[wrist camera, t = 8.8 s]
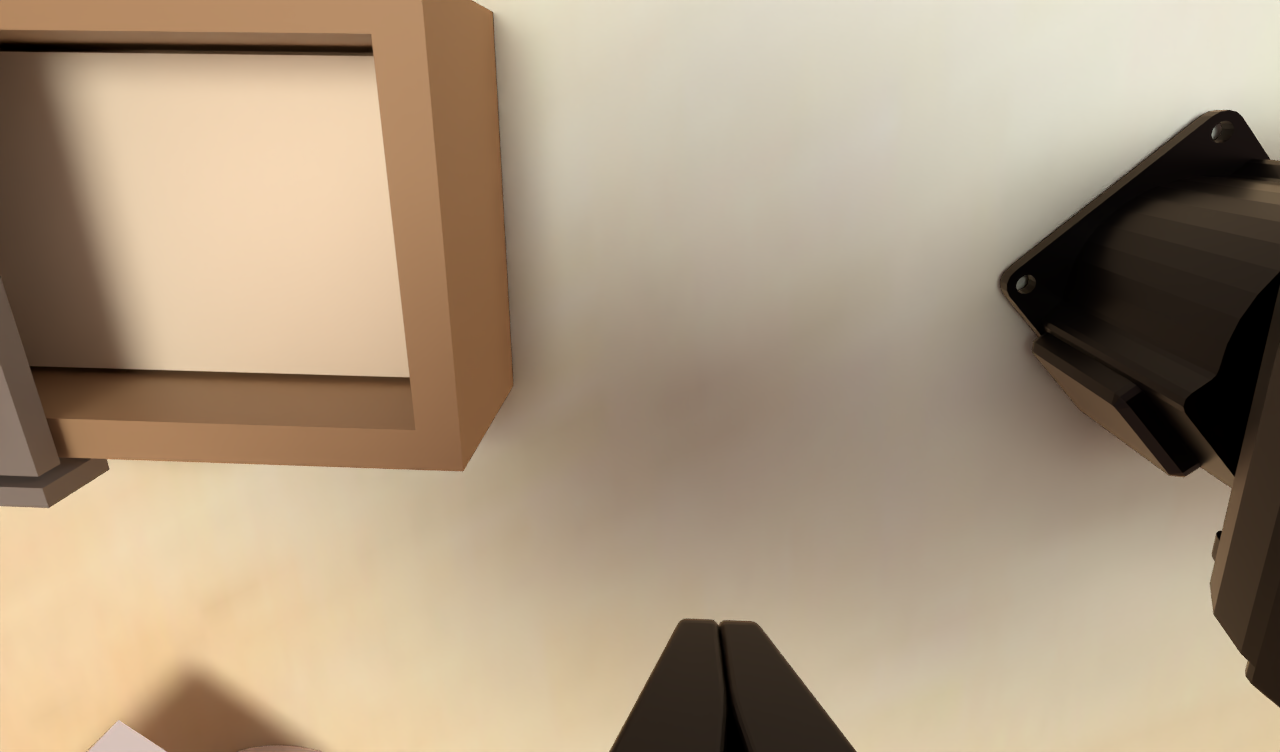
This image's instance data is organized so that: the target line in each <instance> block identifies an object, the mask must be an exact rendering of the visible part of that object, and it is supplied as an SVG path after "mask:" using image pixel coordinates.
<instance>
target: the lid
mask: <svg viewBox="0 0 1280 752" xmlns="http://www.w3.org/2000/svg"><path fill="white" fill-rule="evenodd" d="M108 470H109V466H108V463H107V459H96V458H67V457H58V454H57V451H56V448H55V445H54V441H53V438H52V435H51V432H50V429H49V426H48V423H47V420H46V417H45V413H44V410H43V407H42V404H41V401H40V398H39V395H38V392H37V389H36V385H35V382H34V379H33V376H32V373H31V370H30V367H29V364H28V360H27V357H26V354H25V351H24V348H23V345H22V342H21V339H20V336H19V332H18V329H17V326H16V323H15V320H14V317H13V314H12V311H11V308H10V304H9V301H8V298H7V295H6V292H5V289H4V286H3V283H2V280H1V276H0V506H12V507H39V508H49V507H51V506H53V505H54V504H56V503H57V502H59V501H60V500H62V499H64V498H65V497H67V496H68V495H70V494H71V493H73V492H75V491H76V490H78V489H79V488H81V487H83V486H84V485H86V484H87V483H89V482H90V481H92V480H94V479H95V478H97V477H98V476H100V475H101V474H103V473H105V472H106V471H108Z"/></svg>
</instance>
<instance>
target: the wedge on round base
mask: <svg viewBox="0 0 1280 752" xmlns="http://www.w3.org/2000/svg"><path fill="white" fill-rule="evenodd" d="M86 752H167V751H165V750H163V749H162V748H160V747H159V746H157V745H156V744H154V743H153V742H151V741H150V740H148V739H147V738H145V737H144V736H142V735H141V734H139V733H138V732H136V731H135V730H133V729H132V728H130V727H129V726H127V725H126V724H124V723H123V722H121V721H120V720H118V721H117V722H116V723H115V724H114V725H113V726H112V727H111V728H110V729H109V730H108V731H107V732H106V733H105V734H104V735H103V736H102V737H101V738H100V739H99V740H98V741H97V742H96V743H95V744H94V745H93V746H91V747H90V748H89V749H88V750H87V751H86ZM237 752H321V751H317V750H314V749H309V748H303V747H297V746H285V745H269V746H259V747H252V748H248V749H244V750H240V751H237Z"/></svg>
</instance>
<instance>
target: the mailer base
mask: <svg viewBox="0 0 1280 752" xmlns="http://www.w3.org/2000/svg"><path fill="white" fill-rule="evenodd" d="M0 276H1V280H2V283H3V286H4V289H5V292H6V295H7V298H8V301H9V304H10V308H11V311H12V314H13V317H14V320H15V323H16V326H17V329H18V332H19V336H20V339H21V342H22V345H23V348H24V351H25V354H26V357H27V360H28V364H29V367H30V370H31V373H32V376H33V379H34V382H35V385H36V389H37V392H38V395H39V398H40V401H41V404H42V407H43V410H44V413H45V417H46V420H47V423H48V426H49V429H50V432H51V435H52V438H53V441H54V445H55V448H56V451H57V454H58V457H67V458H96V459H124V460H153V461H182V462H211V463H240V464H268V465H297V466H326V467H355V468H383V469H412V470H441V471H464V469H465V467H466V466H467V464H468V462H469V461H470V459H471V457H472V455H473V454H474V452H475V450H476V449H477V447H478V445H479V443H480V442H481V440H482V438H483V437H484V435H485V433H486V431H487V430H488V428H489V426H490V425H491V423H492V421H493V419H494V418H495V416H496V414H497V413H498V411H499V409H500V408H501V406H502V404H503V402H504V401H505V399H506V397H507V396H508V394H509V392H510V390H511V389H512V387H513V371H512V353H511V335H510V317H509V299H508V281H507V263H506V245H505V227H504V209H503V191H502V173H501V155H500V136H499V118H498V100H497V82H496V64H495V46H494V28H493V12H492V11H490V10H488V9H486V8H485V7H483V6H481V5H479V4H477V3H476V2H474V1H472V0H0Z"/></svg>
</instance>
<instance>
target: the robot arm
mask: <svg viewBox="0 0 1280 752" xmlns="http://www.w3.org/2000/svg"><path fill="white" fill-rule="evenodd" d="M1218 123H1220V124H1221V127H1222V130H1221V134H1220V135H1219V137H1218V138H1217V139H1216V140H1214V141H1213V140H1212V136H1211V134H1212V130H1213V128H1214V127H1215V126H1216V125H1217V124H1218ZM1025 275H1028V278H1029V281H1028V284H1027V285H1026V287H1025V288H1023V289H1021V290H1017V288H1016V284H1017V281H1018V280H1019V279H1020V278H1021V277H1023V276H1025ZM1000 288H1001V290H1002V292H1003V294H1004V295H1005V296H1006V298H1007V299H1008V300H1009V301H1010V303H1011V304H1012V305H1013V306H1014V307H1015V309H1016V310H1017V311H1018V312H1019V314H1020V315H1021V316H1022V317H1023V319H1024V320H1025V321H1026V322H1027V323H1028V325H1029V326H1030V327H1031V328H1032V330H1033V331H1034V332H1035V333H1036V334H1037V336H1038V338H1037V339H1036V340H1034V341H1033V347H1032V353H1033V354H1034V355H1035V357H1036V358H1037V359H1038V360H1039V361H1040V363H1041V364H1042V365H1043V366H1044V367H1045V369H1046V370H1047V371H1048V372H1049V374H1050V375H1051V376H1052V377H1053V378H1054V380H1055V381H1056V382H1057V383H1058V384H1059V386H1060V387H1061V388H1062V389H1063V390H1064V392H1065V393H1066V394H1067V395H1068V397H1069V398H1070V399H1071V400H1072V401H1073V403H1074V404H1075V405H1076V406H1077V407H1078V409H1079V410H1080V411H1082V412H1083V413H1084V414H1086V415H1087V416H1089V417H1090V418H1091V419H1093V420H1094V421H1095V422H1097V423H1098V424H1099V425H1101V426H1102V427H1103V428H1105V429H1106V430H1108V431H1109V432H1110V433H1112V434H1113V435H1114V436H1116V437H1117V438H1118V439H1120V440H1121V441H1123V442H1124V443H1125V444H1127V445H1128V446H1129V447H1131V448H1132V449H1133V450H1135V451H1136V452H1138V453H1139V454H1140V455H1142V456H1143V457H1144V458H1146V459H1147V460H1148V461H1150V462H1151V463H1152V464H1154V465H1155V466H1157V467H1158V468H1159V469H1161V470H1162V471H1163V472H1165V473H1166V474H1167V475H1169V476H1178V477H1185V476H1187V475H1188V474H1190V473H1192V472H1193V471H1195V470H1196V469H1198V468H1199V467H1201V468H1202V469H1204V470H1205V471H1207V472H1208V473H1210V474H1211V475H1213V476H1214V477H1216V478H1217V479H1219V480H1220V481H1222V482H1223V483H1225V484H1226V485H1228V486H1229V487H1231V488H1232V491H1231V495H1230V499H1229V503H1228V508H1227V512H1226V516H1225V520H1224V525H1223V529H1222V531H1218V532H1217V533H1216V537H1215V541H1214V546H1213V550H1212V557H1213V559H1214V561H1215V563H1214V567H1213V572H1212V576H1211V580H1210V589H1211V598H1212V606H1213V614H1214V616H1215V617H1216V619H1217V620H1218V621H1219V623H1220V624H1221V626H1222V627H1223V629H1224V630H1225V631H1226V633H1227V634H1228V636H1229V637H1230V639H1231V640H1232V642H1233V643H1234V644H1235V646H1236V647H1237V649H1238V650H1239V652H1240V653H1241V654H1242V655H1243V656H1244V657H1245V658H1246V659H1247V660H1248V662H1247V665H1246V669H1245V675H1246V677H1247V679H1248V680H1249V681H1250V683H1251V684H1252V685H1253V686H1255V687H1256V688H1257V689H1258V690H1259V691H1260V692H1261V693H1263V694H1264V695H1265V696H1266V697H1268V698H1269V699H1270V700H1271V701H1272V702H1274V703H1275V704H1276V705H1277V706H1279V707H1280V161H1277V160H1270V158H1269V157H1268V155H1267V154H1266V152H1265V151H1264V149H1263V148H1262V146H1261V145H1260V143H1259V142H1258V140H1257V138H1256V137H1255V135H1254V134H1253V132H1252V131H1251V129H1250V128H1249V126H1248V125H1247V123H1246V122H1245V120H1244V119H1243V117H1242V116H1241V115H1240V114H1239V113H1238V112H1235V111H1231V110H1215V111H1209V112H1207V113H1205V114H1203V115H1202V116H1200V117H1199V118H1198V119H1196V120H1195V121H1194V122H1192V123H1191V124H1190V125H1189V126H1187V127H1186V128H1185V129H1184V130H1182V131H1181V132H1180V133H1179V134H1177V135H1176V136H1175V137H1173V138H1172V139H1171V140H1170V141H1168V142H1167V143H1166V144H1165V145H1163V146H1162V147H1161V148H1160V149H1158V150H1157V151H1156V152H1154V153H1153V154H1152V155H1151V156H1149V157H1148V158H1147V159H1146V160H1144V161H1143V162H1142V163H1141V164H1139V165H1138V166H1137V167H1136V168H1134V169H1133V170H1132V171H1130V172H1129V173H1128V174H1127V175H1125V176H1124V177H1123V178H1122V179H1120V180H1119V181H1118V182H1117V183H1115V184H1114V185H1113V186H1111V187H1110V188H1109V189H1108V190H1106V191H1105V192H1104V193H1103V194H1101V195H1100V196H1099V197H1098V198H1096V199H1095V200H1094V201H1092V202H1091V203H1090V204H1089V205H1087V206H1086V207H1085V208H1084V209H1082V210H1081V211H1080V212H1079V213H1077V214H1076V215H1075V216H1073V217H1072V218H1071V219H1070V220H1068V221H1067V222H1066V223H1065V224H1063V225H1062V226H1061V227H1060V228H1058V229H1057V230H1056V231H1054V232H1053V233H1052V234H1051V235H1049V236H1048V237H1047V238H1046V239H1044V240H1043V241H1042V242H1041V243H1039V244H1038V245H1037V246H1035V247H1034V248H1033V249H1032V250H1030V251H1029V252H1028V253H1027V254H1025V255H1024V256H1023V257H1022V258H1020V259H1019V260H1018V261H1017V262H1015V263H1014V264H1013V265H1011V266H1010V267H1009V268H1008V269H1007V270H1006V271H1005V272H1004V273H1003V275H1002V278H1001V280H1000ZM609 752H856V750H855V749H854V748H853V746H852V745H851V744H850V743H849V741H848V740H847V739H846V737H845V736H844V735H843V733H842V732H841V731H840V730H839V728H838V727H837V726H836V724H835V723H834V722H833V720H832V719H831V718H830V717H829V715H828V714H827V713H826V711H825V710H824V709H823V707H822V706H821V705H820V704H819V702H818V701H817V700H816V698H815V697H814V696H813V694H812V693H811V692H810V691H809V689H808V688H807V687H806V685H805V684H804V683H803V681H802V680H801V679H800V678H799V676H798V675H797V674H796V672H795V671H794V670H793V669H792V667H791V666H790V665H789V663H788V662H787V661H786V659H785V658H784V657H783V656H782V654H781V653H780V652H779V650H778V649H777V648H776V646H775V645H774V644H773V643H772V641H771V640H770V639H769V637H768V636H767V635H766V633H765V632H764V631H763V630H762V628H761V627H760V626H759V625H758V624H757V623H755V622H752V621H734V620H723V621H722V622H720V624H719V626H718V624H717V623H716V622H715V621H714V620H710V619H682V620H681V621H680V622H679V623H678V625H677V626H676V628H675V630H674V632H673V634H672V636H671V637H670V639H669V641H668V643H667V645H666V647H665V649H664V651H663V652H662V654H661V656H660V658H659V660H658V662H657V664H656V665H655V667H654V669H653V671H652V673H651V675H650V677H649V679H648V680H647V682H646V684H645V686H644V688H643V690H642V692H641V693H640V695H639V697H638V699H637V701H636V703H635V705H634V707H633V708H632V710H631V712H630V714H629V716H628V718H627V720H626V721H625V723H624V725H623V727H622V729H621V731H620V733H619V735H618V736H617V738H616V740H615V742H614V744H613V746H612V748H611V750H610V751H609Z"/></svg>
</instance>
